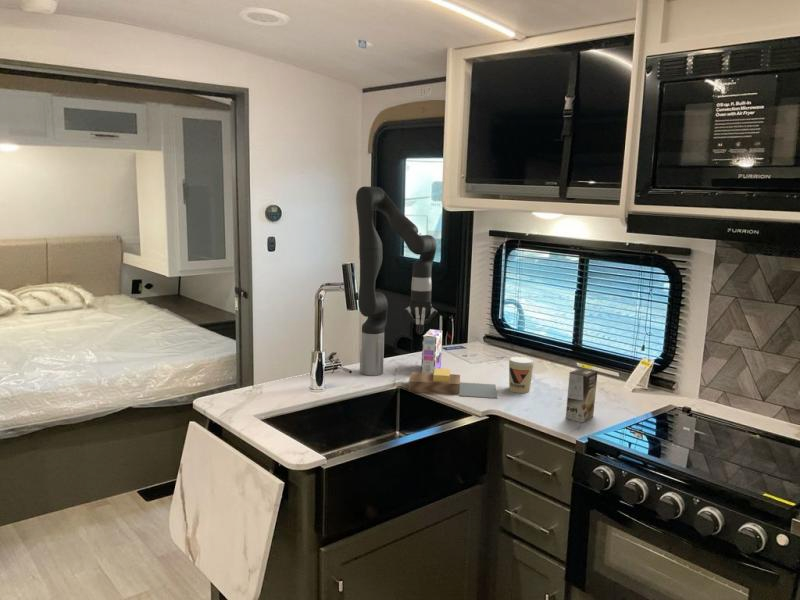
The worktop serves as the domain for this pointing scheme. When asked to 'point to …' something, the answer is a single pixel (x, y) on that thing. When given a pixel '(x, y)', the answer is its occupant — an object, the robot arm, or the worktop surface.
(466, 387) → the mat
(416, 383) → the brown flat block
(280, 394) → the worktop surface
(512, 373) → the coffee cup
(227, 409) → the worktop surface
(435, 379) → the yellow rectangular block
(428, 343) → the candy box
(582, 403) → the coffee box
